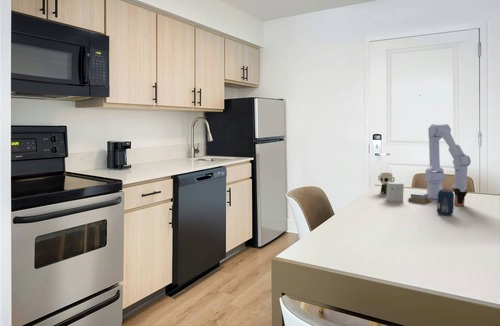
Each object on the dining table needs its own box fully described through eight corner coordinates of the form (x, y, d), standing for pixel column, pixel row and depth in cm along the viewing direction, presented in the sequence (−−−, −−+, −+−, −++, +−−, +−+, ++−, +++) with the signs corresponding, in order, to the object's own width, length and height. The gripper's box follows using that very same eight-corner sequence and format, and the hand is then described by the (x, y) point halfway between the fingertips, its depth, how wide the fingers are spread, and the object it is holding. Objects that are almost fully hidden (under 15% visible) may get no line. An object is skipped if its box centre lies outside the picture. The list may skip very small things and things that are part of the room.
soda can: (447, 212, 178) (448, 189, 177) (456, 216, 171) (457, 191, 170) (433, 212, 178) (435, 189, 176) (441, 216, 171) (443, 191, 170)
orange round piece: (455, 203, 197) (456, 194, 197) (465, 205, 194) (465, 196, 193) (452, 205, 194) (453, 196, 194) (462, 206, 191) (463, 197, 190)
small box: (400, 199, 209) (400, 182, 207) (403, 201, 203) (404, 183, 202) (386, 199, 209) (386, 181, 208) (388, 201, 204) (389, 183, 203)
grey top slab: (415, 196, 209) (415, 192, 208) (427, 198, 204) (428, 193, 204) (410, 198, 204) (410, 193, 204) (423, 199, 199) (423, 195, 199)
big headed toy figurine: (374, 193, 229) (375, 173, 228) (380, 191, 234) (381, 172, 232) (390, 195, 221) (391, 174, 219) (396, 194, 225) (397, 173, 224)
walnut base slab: (414, 200, 210) (414, 195, 210) (430, 202, 204) (430, 198, 204) (408, 202, 204) (408, 198, 204) (424, 204, 198) (424, 200, 197)
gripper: (449, 175, 201) (448, 199, 202) (454, 179, 187) (453, 204, 189) (464, 176, 198) (462, 200, 200) (470, 180, 185) (468, 205, 186)
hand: (459, 202), depth 194 cm, fingers closed on orange round piece, 5 cm apart
